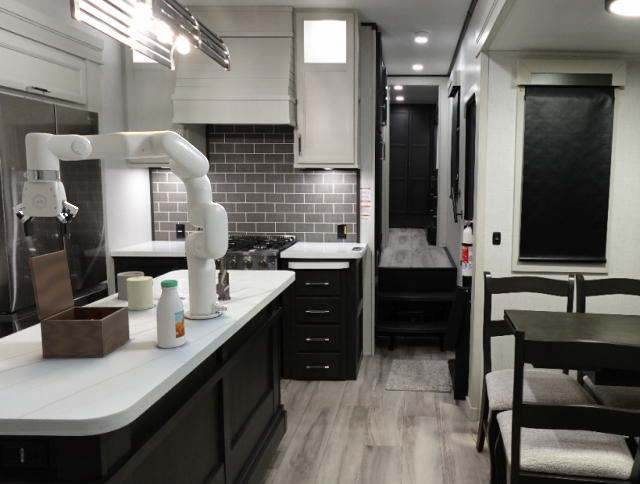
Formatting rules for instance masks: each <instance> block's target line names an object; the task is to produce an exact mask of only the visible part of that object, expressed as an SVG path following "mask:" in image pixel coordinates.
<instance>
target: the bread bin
mask: <svg viewBox="0 0 640 484" xmlns="http://www.w3.org/2000/svg"><path fill="white" fill-rule="evenodd" d="M91 319H93V320H91ZM129 319H130V318H129V309H128V306H71V307H69V308H66V309H64V310H62V311H59V312H57V313H55V314H52V315H50V316H48V317H45V318H43V319H40V321H39V323H40V335H41V336H40V337H41V349H42V359H72V358H73V359H78V358H79V359H80V358H82V359H83V358H86V359H87V358H92V359H93V358H105V357H107V356H108V355H109V354H112V352H114V351H116V350H117V349H118V348H120V347H122V346H123V345H124V344H126V343H128V342H130V340H131V337H130V320H129Z"/></svg>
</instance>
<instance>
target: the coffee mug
mask: <svg viewBox="0 0 640 484" xmlns="http://www.w3.org/2000/svg"><path fill="white" fill-rule="evenodd" d="M116 274H117V275H116V278H117V296H118V297H117V298H118V300H119V299H120V300H128V293H127V279H128V278H132V277H140V276H145V273H144V272H143V271H124V272H119V273H116Z"/></svg>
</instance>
